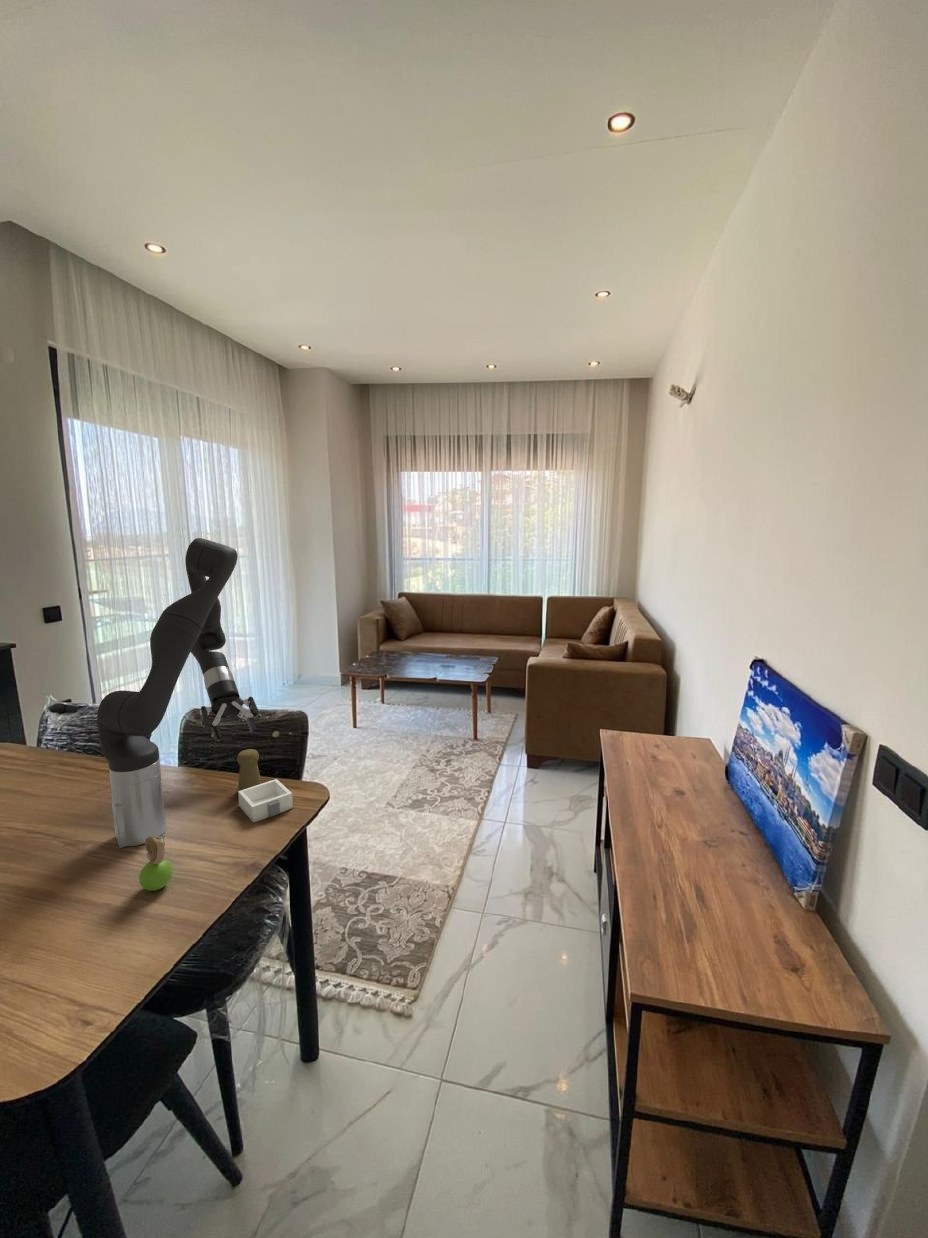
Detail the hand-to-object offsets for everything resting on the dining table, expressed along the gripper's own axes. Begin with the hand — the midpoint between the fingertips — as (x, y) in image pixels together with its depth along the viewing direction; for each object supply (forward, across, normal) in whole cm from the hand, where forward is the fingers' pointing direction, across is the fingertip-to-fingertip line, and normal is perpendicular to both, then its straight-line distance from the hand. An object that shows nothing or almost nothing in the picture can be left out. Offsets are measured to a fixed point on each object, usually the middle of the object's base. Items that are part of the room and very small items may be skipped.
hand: (237, 736), depth 133 cm
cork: (+15, 0, +4) cm, 15 cm away
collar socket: (+22, 0, -4) cm, 23 cm away
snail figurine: (+33, -26, -15) cm, 45 cm away
